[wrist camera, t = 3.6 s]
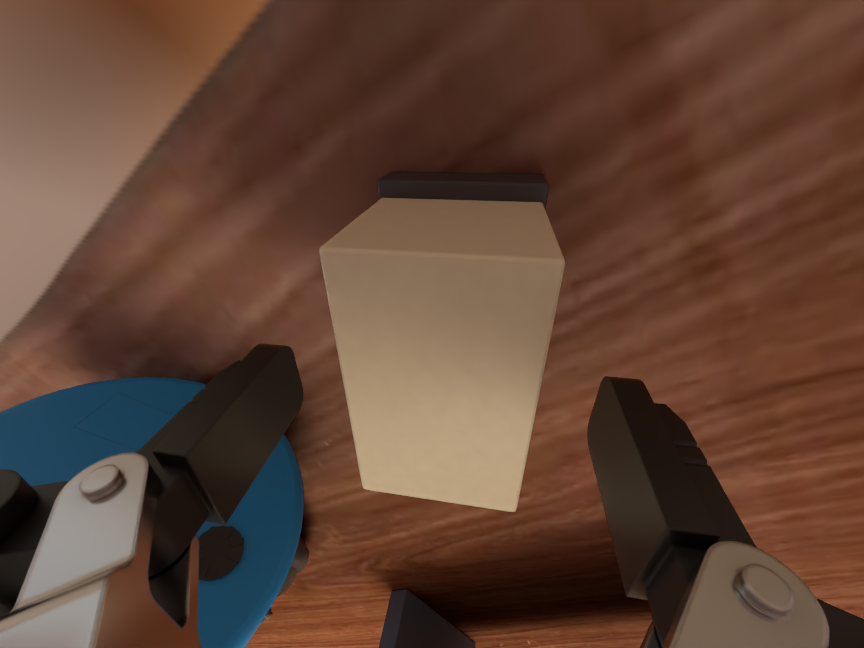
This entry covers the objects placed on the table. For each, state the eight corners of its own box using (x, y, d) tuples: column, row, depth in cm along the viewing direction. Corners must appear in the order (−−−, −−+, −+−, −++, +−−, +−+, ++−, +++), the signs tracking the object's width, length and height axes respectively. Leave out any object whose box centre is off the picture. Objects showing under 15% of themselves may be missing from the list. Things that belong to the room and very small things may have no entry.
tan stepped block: (389, 171, 12) (306, 222, 7) (544, 173, 11) (578, 233, 6) (406, 424, 18) (369, 547, 13) (506, 436, 18) (507, 571, 12)
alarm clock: (120, 402, 21) (-419, 828, 9) (115, 329, 18) (-756, 843, 6) (320, 490, 23) (98, 965, 10) (350, 437, 20) (76, 1043, 7)
